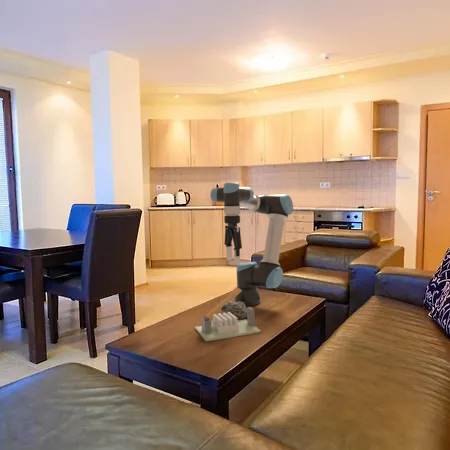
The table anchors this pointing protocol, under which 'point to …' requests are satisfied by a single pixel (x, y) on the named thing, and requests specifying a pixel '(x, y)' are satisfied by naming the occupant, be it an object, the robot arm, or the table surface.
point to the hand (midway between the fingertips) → (233, 261)
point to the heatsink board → (231, 334)
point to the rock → (235, 309)
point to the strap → (223, 303)
